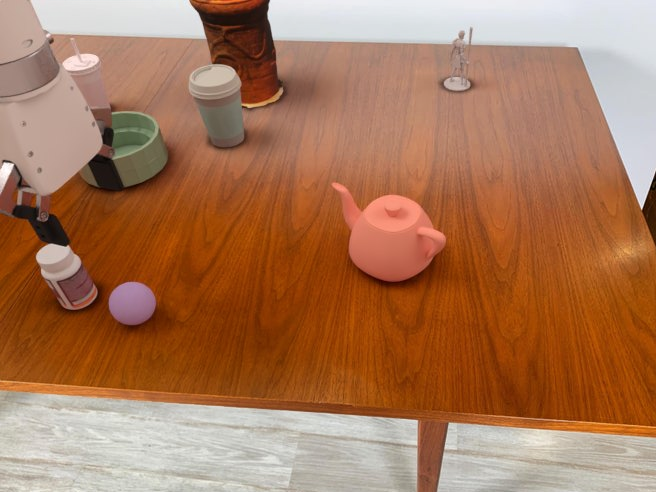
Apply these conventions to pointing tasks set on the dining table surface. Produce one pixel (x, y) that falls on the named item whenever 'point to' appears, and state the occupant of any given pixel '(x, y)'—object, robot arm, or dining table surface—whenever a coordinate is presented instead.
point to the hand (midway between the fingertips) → (85, 213)
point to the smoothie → (87, 77)
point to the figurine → (459, 64)
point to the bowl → (134, 148)
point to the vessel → (243, 45)
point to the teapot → (390, 236)
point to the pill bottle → (66, 276)
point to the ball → (132, 303)
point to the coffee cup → (219, 103)
